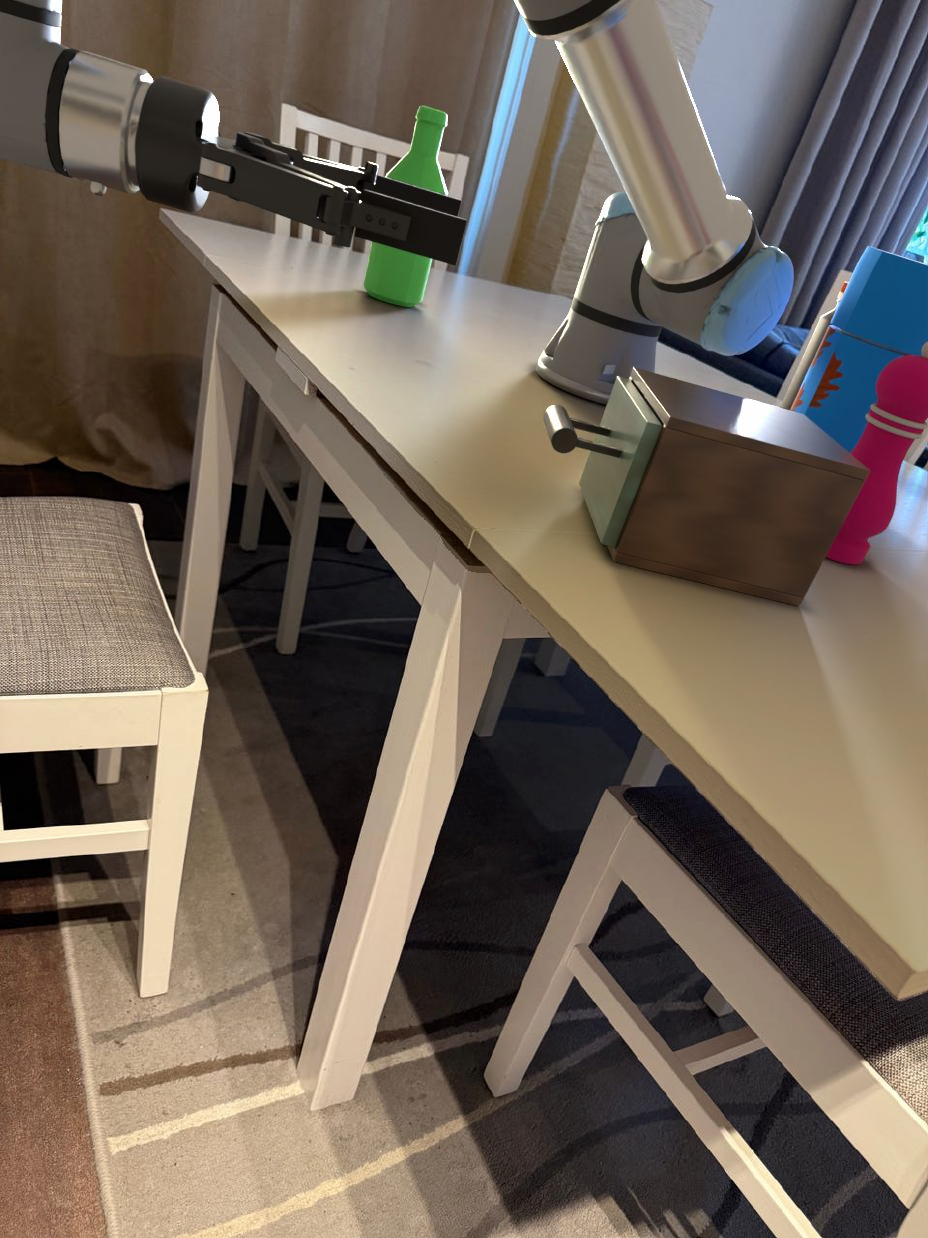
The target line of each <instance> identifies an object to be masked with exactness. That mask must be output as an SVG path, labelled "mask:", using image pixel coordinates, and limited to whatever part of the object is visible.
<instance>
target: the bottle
mask: <svg viewBox="0 0 928 1238" xmlns="http://www.w3.org/2000/svg"><path fill="white" fill-rule="evenodd" d="M415 119H416V121H415V125H414V131H413V135H412V139H411V145H410V149H409V150H408V152H406V154H404V155H403V157H402V158H401V159H400V160H399V161H398V162H397V163H396V164H394V166H393V167H392V168H391V169H390V170H389V171H388V172H387V173H386V174H385V176H384V177H387V178H390V179H394V180H397V181H400V182H404V183H407V184H410V185H413V186H417V187H420V188H423V189H427V190H430V191H433V192H437V193H440V194H443V195H446V196H449V191H448V189H447V185H446V183H445V178H444V176H443V173H442V169H441V166H440V163H439V160H438V157H439V154H440V153H439V152H440V148H441V144H442V140H443V135H444V131H445V128H446V127H447V126H448V114H447V113H446V112H445V111H443V110H440V109H436V108H433V107H430V106H426V105H420V106H419V107H418V109H417V112H416V114H415ZM370 244H371V245H370V250H369V254H368V255H369V256H368V260H367V265H366V269H365V274H364V279H363V288H364V289H365V291H366V293H367V294H368V295H369V296H370V297H372V298H374V299H376V300H379V301H381V302H384V303H387V304H391V305H396V306H399V307H405V308H412V307H415V306H416V305H418V304H420V303H422V302H423V300H424V295H425V291H426V287H427V283H428V279H429V275H430V270H431V267H432V263H433V259H431V258H427V257H424V256H420V255H417V254H413V253H410V252H406V251H403V250H400V249H396V248H393V247H389V246H386V245H382V244H379V243H376V242H372V241H371V243H370Z"/></svg>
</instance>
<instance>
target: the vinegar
mask: <svg viewBox="0 0 928 1238" xmlns="http://www.w3.org/2000/svg"><path fill="white" fill-rule="evenodd" d="M848 283H849V281H844V282H843V284H842V286H841V288H840V290H839V293H838V295H837V299H836V300H835V302H837V303H836V305H835V307H834V309H832V310H830V311H828V312H826V313H823V314H822V315H821V316H820V317H819V320H818V322H817V324H816V326H815V329H814V330H813V333H812V335H811V338H810V340H809V341H808V344H807V347H806V349H805V351H804V354H803V355H802V358H801V360H800V362H799V364H798V366H797V369H796V371H795V373H794V375H793V377H792V380H791V382H790V384H789V386H788V389H787V391H786V393H785V396H784V398H783V400H782V402H781V404H780V406H779V408H783V409H786V410H790V409H791V407H792V405H793V403H794V400H795V398H796V396H797V394H798V392H799V389H800V387H801V385H802V383H803V381H804V379H805V376H806V374H807V372H808V370H809V368H810V366H811V363H812V361H813V359H814V357H815V355H816V352H817V350H818V348H819V346H820V344H821V342H822V339H823V337H824V335H825V333H826V331H827V329H828V326H829V325H832V324H831V323H830V322H831V320H832V318H833V315H834V313H835V311H836V309H837V307H838V305H839V302H840V300H841V298H842V296H843V294H844V291H845V289H846V287H847V285H848Z"/></svg>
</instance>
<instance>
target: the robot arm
mask: <svg viewBox="0 0 928 1238" xmlns="http://www.w3.org/2000/svg"><path fill="white" fill-rule="evenodd" d="M513 1H514V3H515V5H516V8H517V9H518V12H519V13H520V15H521V18H522V19H523V22H524V23H525V25H526V27H527V29H528V31H529V32H530V34H531V35H532V36H533V37H535V38H538V39H542V40H546V41H547V40H548V41H554V42H555V44H556V46H557V49H558V50H559V52H560V55H561V57H562V59H563V61H564V63H565V65H566V67H567V69H568V72H569V74H570V76H571V78H572V80H573V83H574V84H575V87H576V89H577V91H578V93H579V95H580V97H581V99H582V102H583V104H584V107H585V108H586V111H587V113H588V115H589V116H590V119H591V121H592V124H593V126H594V127H595V130H596V131H597V134H598V136H599V138H600V140H601V142H602V145H603V147H604V149H605V151H606V154H607V155H608V158H609V159H610V162H611V164H612V166H613V168H614V170H615V173H616V174H617V175H616V176H617V177H618V179H619V181H620V183H621V185H622V188H623V190H624V191H617V192H614V193H612V194H611V195H610V196H608V197H607V199H606V200H605V202H604V204H603V207H602V210H601V212H600V214H599V218H598V219H597V221H596V222H595V224H594V229H593V233H592V235H591V239H590V243H589V246H588V248H587V249H588V250H587V252H586V256H585V259H584V263H583V266H582V269H581V271H580V275H579V279H578V282H577V284H576V289H575V292H574V295H573V299H572V302H571V305H570V308H569V311H568V314H567V316H566V317H565V319H564V320H563V322H562V323H561V325H560V326H559V328H558V329H557V331H555V334H554V335H553V336H552V338H551V339H550V340H549V342H548V343H547V345H546V347H545V348H544V349H543V351H542V353H541V354H540V357H539V359H538V362H537V365H536V368H535V371H536V373H537V374H538V375H539V376H540V378H542V379H543V380H545V381H546V382H547V383H549V384H551V385H553V386H555V387H557V388H559V389H561V390H563V391H565V392H568V393H570V394H572V395H574V396H578V397H580V398H583V399H586V400H589V401H592V402H596V403H599V404H602V405H606V406H607V403H608V400H609V398H610V395H611V392H612V389H613V386H614V384H615V381H616V378H617V376H619V377H623V378H626V379H629V378H630V375H631V372H632V369H633V367H635V368H638V369H642V370H646V371H649V372H653V373H656V357H657V356H656V355H657V345H658V340H659V338H660V334H661V332H662V329H663V328H664V329H666V330H667V331H668V330H669V331H670V332H673V333H675V334H677V335H679V336H681V337H682V338H685V339H687V340H688V341H690V342H693V343H695V344H697V345H699V346H701V347H702V349H703V350H705V351H707V352H715V353H717V354H719V355H722V356H727V357H732V356H735V355H737V356H739V355H742V354H744V353H747V352H748V351H750V350H753V348H755V347H756V346H758V345H759V344H760V343H761V342H762V341H764V339H766V338H767V336H768V335H769V334H770V333H771V332H772V330H774V328H775V327H776V325H777V324H778V323H779V320H780V319H781V317H782V315H783V314H784V312H785V309H786V306H787V305H788V303H789V301H790V298H791V294H792V291H793V288H794V287H793V286H794V280H795V274H794V265H793V262H792V260H791V258H790V257H789V256H788V254H786V252H784V251H781V249H780V248H779V247H778V246H775V245H766V244H765V243H764V242H763V241H762V239H761V238H760V235H759V232H758V229H757V226H756V223H755V221H754V218H753V215H752V212H751V210H750V209H749V207H748V206H747V204H746V203H745V202H744V201H743V200H741V198H738V197H735V196H732V195H731V196H730V195H728V193H727V190H726V187H725V184H724V182H723V179H722V177H721V173H720V172H719V168H718V165H717V163H716V160H715V158H714V154H713V152H712V149H711V146H710V144H709V141H708V137H707V135H706V131H705V130H704V127H703V124H702V121H701V118H700V116H699V113H698V109H697V107H696V104H695V102H694V99H693V97H692V93H691V91H690V88H689V86H688V83H687V80H686V77H685V74H684V71H683V69H682V66H681V63H680V61H679V57H678V55H677V52H676V49H675V47H674V43H673V41H672V37H671V35H670V33H669V30H668V27H667V24H666V21H665V19H664V16H663V14H662V11H661V8H660V5H659V2H658V0H513ZM62 5H63V0H0V160H4V161H9V162H11V163H16V164H19V165H22V166H27V167H29V168H30V167H31V168H34V169H38V170H42V171H45V172H49V173H53V174H56V175H60V176H63V177H66V178H70V179H77V180H80V181H82V182H83V181H90V186H89V189H90V192H91V193H92V194H94V195H95V196H99V197H102V196H104V195H106V192H107V189H110V190H113V191H116V192H121V193H124V194H128V195H134V194H136V193H138V192H140V193H141V195H142V196H144V198H145V200H146V201H149V202H152V203H156V204H159V205H163V206H166V207H169V208H173V209H176V210H180V211H184V212H187V213H197V212H199V211H200V210H201V209H202V208H203V207H204V205H205V203H206V201H207V199H208V197H209V194H210V193H211V192H214V193H217V194H219V195H223V196H226V197H228V198H229V199H231V200H234V201H236V202H241V203H246V204H249V205H251V206H254V207H257V208H259V209H262V210H265V211H267V212H270V213H273V214H276V215H279V216H281V217H284V218H286V219H289V220H292V221H294V222H297V223H300V224H303V225H305V226H308V227H310V228H312V229H313V228H314V229H316V230H318V231H322V232H324V233H325V235H328V236H331V237H334V241H333V244H334V245H337V246H340V247H343V248H351V247H352V242H353V238H354V237H355V238H359V239H362V240H365V241H369V242H371V243H372V242H376V243H379V244H382V245H386V246H389V247H393V248H396V249H400V250H403V251H406V252H410V253H413V254H417V255H420V256H424V257H427V258H431V259H432V260H434V261H437V262H441V263H445V264H448V265H452V266H454V267H456V266H457V262H458V257H459V254H460V250H461V247H462V246H461V245H462V243H463V239H464V238H463V237H464V235H465V230H466V226H467V222H468V219H466V218H463V217H459V213H460V209H461V206H462V202H463V200H462V199H459V198H457V197H454V196H450V195H448V196H446V195H443V194H440V193H437V192H433V191H430V190H427V189H423V188H420V187H417V186H413V185H410V184H407V183H404V182H400V181H397V180H394V179H390V178H387V177H385V176H383V175H381V174H377V173H378V170H379V166H380V165H379V164H377V163H374V162H372V161H367V160H366V161H365V164H364V167H361V166H358V167H356V166H351V165H347V164H345V163H344V164H343V163H340V162H336V161H332V160H328V159H325V158H321V157H317V156H313V155H310V154H306V153H303V152H302V151H301V150H299V149H297V148H295V147H292V146H290V145H286V144H281V143H278V142H274V141H272V140H271V139H269V138H267V137H265V136H262V135H261V134H258V133H253V132H251V131H250V132H249V131H246V130H245V131H243V132H240V131H239V132H238V131H236V134H235V135H236V136H235V139H232V138H227V137H223V136H222V135H221V133H220V130H219V123H220V111H219V103H218V101H217V99H216V97H215V95H214V94H213V92H212V91H210V90H208V89H207V88H203V87H200V86H197V85H194V84H190V83H186V82H184V81H180V80H177V79H175V78H174V79H173V78H171V77H167V76H164V75H161V76H159V77H157V78H155V79H153V78H152V76H151V75H150V73H149V72H148V71H147V69H144V68H141V67H138V66H134V65H132V64H128V63H124V62H122V61H120V60H116V59H112V58H110V57H107V56H103V55H100V54H96V53H93V52H90V51H87V50H79V49H76V48H70V47H68V46H66V45H64V44H62V43H61V29H62V19H63V15H62V7H63V6H62ZM353 236H354V237H353Z"/></svg>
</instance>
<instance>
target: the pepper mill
mask: <svg viewBox="0 0 928 1238" xmlns="http://www.w3.org/2000/svg"><path fill="white" fill-rule="evenodd" d="M921 354H922V356H918V355H908V356H902V357H899V358H896V359H894V360H893V361H891V362H890V363H889V364H888V365H887V366H886V367H885V368H884V369H883V370H882V372H881V373H880V375H879V377H878V379H877V382H876V393H877V397H878V402H877V403H874V404H871V406H870V408H871V410H870V411H869V413H868V414H866V416H865V418H866V419H867V420H868V423H867V425H866V427H865V430H864V432H863V435H862V436H861V438H860V440H859V441H858V443H857V445H856V446H855V448H854V449H853V450H852V451H851V452H850V454H851V455H853V456H854V457H855V458H856V459H857V460H858V461H860V462H861V463H862V464H863V465H864V466H866V467H867V468H868V469H869V470H870V473H869V475H868V477H867V479H866V480H865V482H864V484H863V486H862V488H861V490H860V492H859V494H858V496H857V498H856V500H855V501H854V503H853V505H852V507H851V509H850V511H849V513H848V515H847V517H846V519H845V521H844V523H843V524H842V526H841V528H840V530H839V532H838V534H837V536H836V538H835V540H834V542H833V544H832V546H831V547H830V549H829V551H828V553H827V555H826V557H825V559H829V560H832V561H835V562H838V563H842V564H845V565H853V566H854V565H860V564H862V563H863V562H864V559H865V558H866V556H867V554H868V553H869V551H870V548H871V544H870V541H868V540H869V539H871V538H873V537H875V536H877V535H880V534H882V533H884V532H885V531H886V530H887V529H888V527H889V526H890V524H891V521H892V519H893V517H894V515H895V510H896V506H897V495H898V483H899V476H900V472H901V468H902V464H903V462H904V460H905V458H906V455H907V453H908V451H909V450H910V448H911V447H912V445H913V443H914V442H915V440H919V439H921V438H923V436H924V435H923V433H924V431H925V429H927V428H928V422H926V421H927V420H928V342H926V343H925V344H924V345H923V347H922V350H921Z"/></svg>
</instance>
